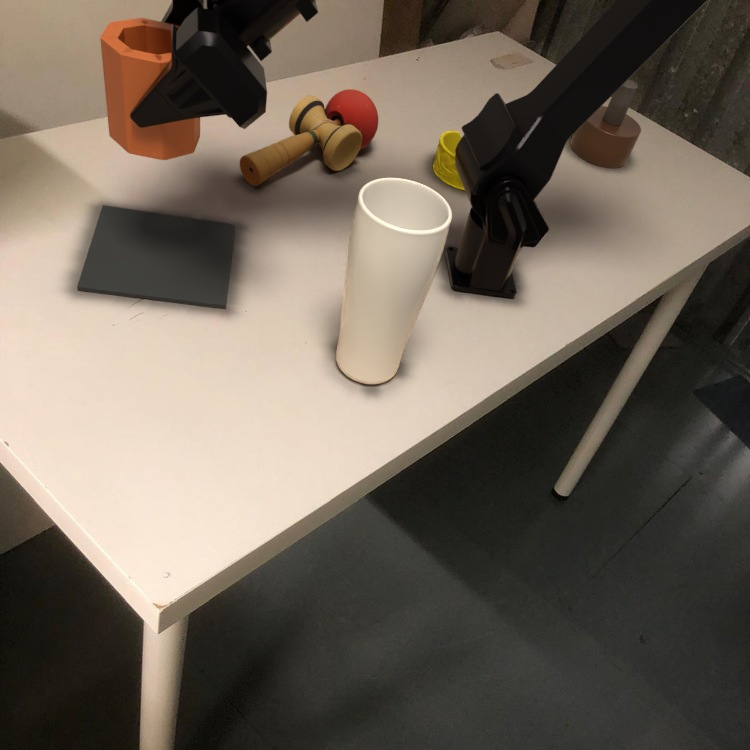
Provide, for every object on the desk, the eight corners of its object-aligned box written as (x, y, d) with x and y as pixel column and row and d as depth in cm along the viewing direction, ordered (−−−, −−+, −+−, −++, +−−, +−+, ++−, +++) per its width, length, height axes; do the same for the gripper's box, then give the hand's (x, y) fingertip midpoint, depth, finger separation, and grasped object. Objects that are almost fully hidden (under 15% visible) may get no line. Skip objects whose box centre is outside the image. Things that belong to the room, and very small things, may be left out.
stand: (633, 172, 94) (666, 104, 87) (576, 162, 93) (606, 92, 86) (618, 141, 99) (649, 74, 92) (564, 131, 97) (592, 63, 91)
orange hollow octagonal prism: (168, 109, 61) (165, 14, 55) (214, 148, 59) (216, 53, 53) (95, 124, 57) (85, 24, 52) (142, 166, 55) (136, 66, 50)
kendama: (282, 218, 75) (396, 147, 84) (273, 156, 71) (396, 88, 79) (230, 193, 79) (345, 127, 87) (218, 132, 74) (342, 69, 82)
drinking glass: (357, 327, 66) (393, 165, 54) (420, 366, 64) (471, 209, 52) (309, 363, 62) (337, 197, 50) (375, 406, 60) (420, 245, 48)
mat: (225, 309, 64) (225, 305, 63) (77, 290, 61) (76, 286, 61) (235, 227, 71) (235, 224, 71) (103, 208, 69) (102, 204, 68)
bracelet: (509, 193, 85) (519, 166, 82) (445, 192, 82) (453, 164, 80) (486, 158, 89) (495, 131, 86) (424, 156, 86) (431, 127, 84)
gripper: (210, -221, 49) (55, -53, 55) (219, -133, 38) (24, 64, 44) (314, -59, 57) (168, 72, 63) (345, 52, 46) (166, 198, 52)
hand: (136, 97), depth 56 cm, fingers closed on orange hollow octagonal prism, 7 cm apart
